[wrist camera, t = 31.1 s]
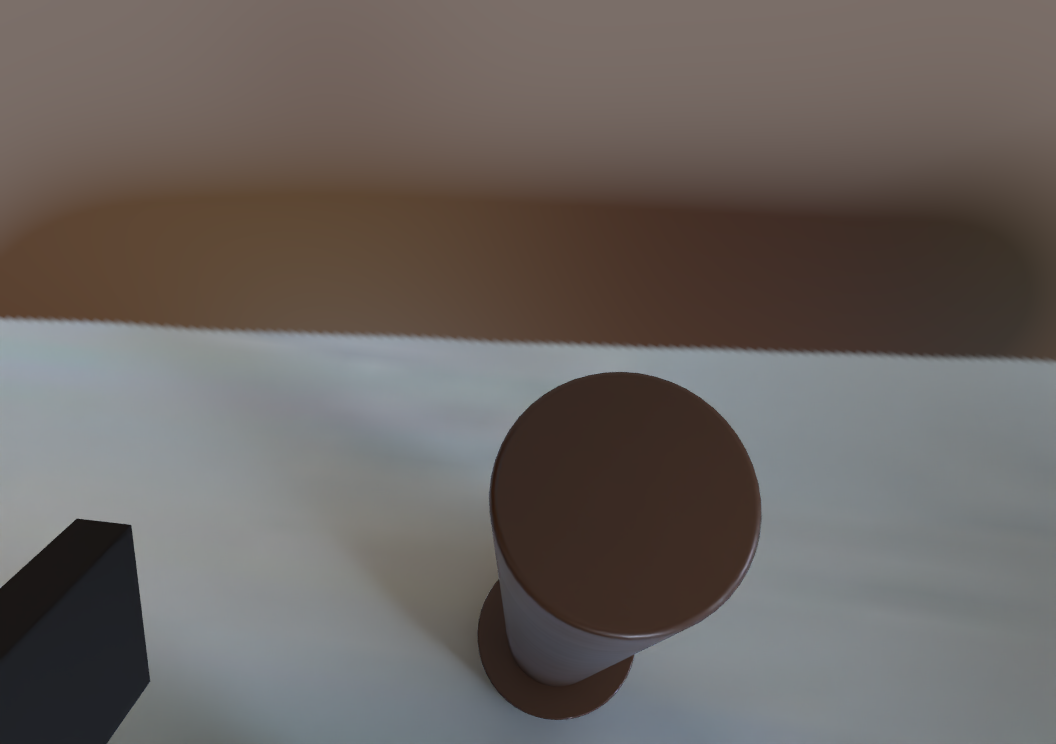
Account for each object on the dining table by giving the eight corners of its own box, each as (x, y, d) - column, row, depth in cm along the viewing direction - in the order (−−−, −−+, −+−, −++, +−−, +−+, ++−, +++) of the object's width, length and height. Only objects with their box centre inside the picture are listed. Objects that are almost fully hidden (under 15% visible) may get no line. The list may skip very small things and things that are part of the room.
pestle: (656, 642, 22) (937, 501, 7) (552, 754, 21) (637, 854, 6) (554, 536, 23) (618, 230, 8) (450, 637, 22) (315, 488, 7)
